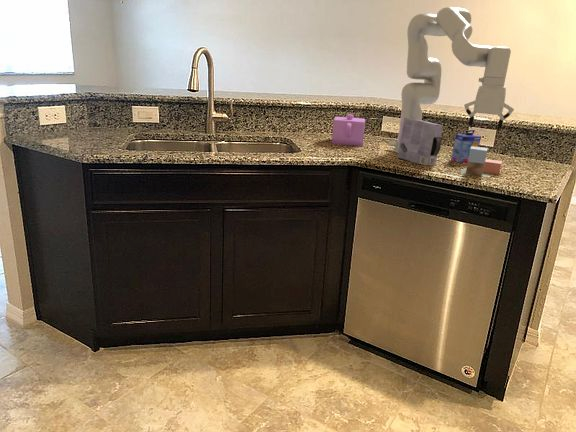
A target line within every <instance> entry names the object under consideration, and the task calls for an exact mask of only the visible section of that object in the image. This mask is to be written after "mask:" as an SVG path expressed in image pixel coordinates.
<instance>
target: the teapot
mask: <svg viewBox="0 0 576 432" xmlns="http://www.w3.org/2000/svg"><path fill="white" fill-rule="evenodd" d="M354 116H355V115H354V114H351V113H350V114H349V113H348V114H346V116H335V117H334V119H333V125H332V126H333V127H332V138H331V144H332V145H342V146H343V145H345V146H346V145H347V146H357V147H358V146H359V147H363V145H364V139H365V138H364V136H365V130H366V129H365V127H366V119H365V118H360V117H354Z"/></svg>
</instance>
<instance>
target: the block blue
mask: <svg viewBox="0 0 576 432" xmlns="http://www.w3.org/2000/svg"><path fill="white" fill-rule="evenodd" d="M488 149H489V148H488V147H482V146H481V147H480V146H479V147H474V146H471V148H470V153H469V158H468V162H475V163H483V164H485V161H486V159H487V155H488Z"/></svg>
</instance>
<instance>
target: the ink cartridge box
mask: <svg viewBox="0 0 576 432" xmlns="http://www.w3.org/2000/svg"><path fill="white" fill-rule="evenodd" d="M475 132H476V129H473V130H470V129H469V130H468V131H467V132H466V133H456V134H455V137H454V143H453V149H452V154H451V158H450V161H453V162H456V163H468V158H469V153H470V148H471V146H474V147H480V144H481V140H482V139H481V138H482V136H481V135H478V134H475Z"/></svg>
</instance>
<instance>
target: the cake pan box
mask: <svg viewBox="0 0 576 432" xmlns="http://www.w3.org/2000/svg"><path fill="white" fill-rule="evenodd" d="M443 129H444V125H443V124H439V123H434V122H429V121H427V120H417V119H413V118H404V123H403V129H402V135H401V140H400V146H399V151H398V153H397V159H402V160H405V161H408V162H411V163H413V164H417V165H420V164H421V166H424V165H426V166H433V165H436V164H437V157H438V154H439V153H440V151H441V147H442V133H443Z"/></svg>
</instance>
